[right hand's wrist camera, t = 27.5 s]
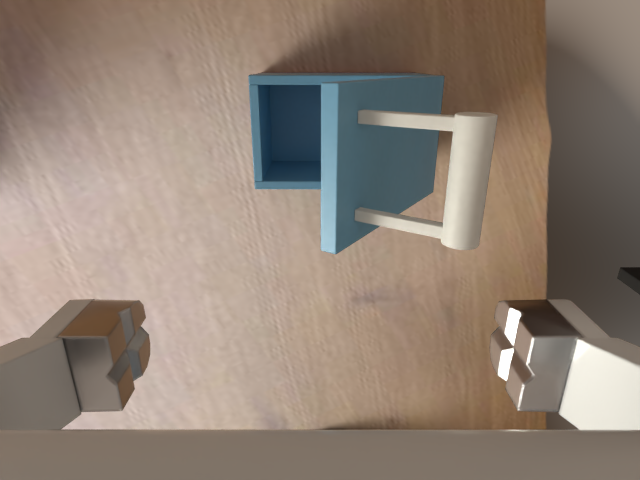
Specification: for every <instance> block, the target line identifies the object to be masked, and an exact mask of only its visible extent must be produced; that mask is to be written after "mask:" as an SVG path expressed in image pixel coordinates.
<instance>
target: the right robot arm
mask: <svg viewBox="0 0 640 480" xmlns="http://www.w3.org/2000/svg"><path fill="white" fill-rule="evenodd" d="M145 318H146V316H145V311H144V306H143V304H142V303H141V302H140V301H139V300H95V299H81V300H69V301H68V302H67V303H66V304H65V305H64V306H63V307H62V308H61V309H60V310H59V311H58V312H57V313H55V314H54V315H53V316H52V317H51V318H50V319H49V320H48V321H47V322H46V323H45V324H44V325H43V326H42V327H40V328H39V329H38V330H37V331H36V332H35V333H34V334H33V335H32V336H31V337H30V338H21V339H18V340H16V341H13V342H11V343H8V344H6V345H3V346H1V347H0V480H640V347H639V346H636V345H634V344H632V343H629V342H627V341H624V340H622V339H619V338H610V337H609V336H608V335H607V334H606V333H605V332H604V331H603V330H602V329H601V328H600V327H599V326H597V325H596V324H595V323H594V322H593V321H592V320H591V319H590V318H589V317H588V316H587V315H586V314H585V313H584V312H583V311H581V310H580V309H579V308H578V307H577V306H576V305H575V304H574V303H573V302H572V301H570V300H567V299H555V300H509V301H499V302H498V304H497V307H496V310H495V315H494V318H495V320H496V321H497V323H498V325H499V327H498V328H497V329H496V330H495V331H494V332H493V333H492V334H491V340H490V358H491V362H492V365H493V368H494V370H495V372H496V374H497V375H498V376H499V377H501V378H503V379H504V380H506V381H507V382H506V388H505V389H506V391H507V393H508V395H509V396H510V398H511V400H512V402H513V403H514V405H515V407H516V408H517V410H518V411H538V412H559V414H560V415H561V416H562V417H564V418H565V419H566V420H568V421H569V422H570V423H572V424H573V425H574V426H576V427H577V428H578V429H579V430H61V429H62V428H63V427H65V426H66V425H67V424H69V423H70V422H71V421H73V420H74V419H75V418H77V417H78V416H79V415H81V412H101V411H122V410H123V409H124V407H125V405H126V403H127V402H128V400H129V398H130V396H131V395H132V393H133V391H134V389H135V388H134V382H133V381H134V380H136V379H137V378H139V377H141V376H142V375H143V373H144V372H145V370H146V368H147V365H148V361H149V357H150V339H149V334H148V333H147V332H146V331H145V330H144V329H143V328H142V327H141V325H142V323H143V321H144V320H145Z"/></svg>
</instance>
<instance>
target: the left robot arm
mask: <svg viewBox="0 0 640 480" xmlns="http://www.w3.org/2000/svg"><path fill="white" fill-rule="evenodd" d="M618 279H619V280H621V281H622V282H623V283H625V284H626V285H627V286H629V287H630V288H632V289H633V290H634V291H636V292H637V293H639V294H640V268H639V267H638V268H637V267H636V268H620V271H619V274H618Z"/></svg>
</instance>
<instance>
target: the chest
mask: <svg viewBox="0 0 640 480" xmlns="http://www.w3.org/2000/svg"><path fill="white" fill-rule="evenodd" d="M414 76H430V75H429V74H420V73H329V72H262V73H258V74H253V75H249V84H250V85H249V93H250V111H251V129H252V147H253V165H254V181H255V189H321V83H322V82H335V81H351V80H367V79H382V78H398V77H414Z"/></svg>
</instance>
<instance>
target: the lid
mask: <svg viewBox="0 0 640 480" xmlns="http://www.w3.org/2000/svg"><path fill="white" fill-rule="evenodd" d="M443 86H444V76H441V75H430V76H414V77H398V78H382V79H367V80H351V81H335V82H322V83H321V250H322V251H325V252H329V253H333V254H337V253H339V252H340V251H342V250H343V249H345V248H347V247H348V246H350V245H351V244H353V243H354V242H356V241H358V240H359V239H361V238H362V237H364V236H365V235H367V234H368V233H370V232H372V231H373V230H375V229H376V228H378V227H379V226H383V227H387V228H392V229H397V230H402V231H407V232H411V233H416V234H421V235H426V236H430V237H435V238H440V239H441V242H442V244H443V245H445V246H447V247H449V248H453V249H458V250H472V249H475V248H477V247H478V246H479V241H480V235H481V228H482V221H483V214H484V207H485V200H486V193H487V186H488V179H489V172H490V166H491V159H492V152H493V145H494V138H495V131H496V124H497V117H498V115H497V114H493V113H485V112H459V113H456V114H455V115H443V114H441V107H442V97H443ZM439 130H442V131H453V137H452V146H451V155H450V164H449V173H448V182H447V191H446V200H445V209H444V218H443V223H441V222H436V221H431V220H426V219H420V218H415V217H410V216H405V215H399V214H400V213H401V212H403V211H404V210H406V209H407V208H409V207H411V206H412V205H414V204H415V203H417V202H418V201H420V200H421V199H423V198H425V197H426V196H428V195H429V194H431V193H432V192H433V188H434V178H435V168H436V157H437V147H438V137H439Z"/></svg>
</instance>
